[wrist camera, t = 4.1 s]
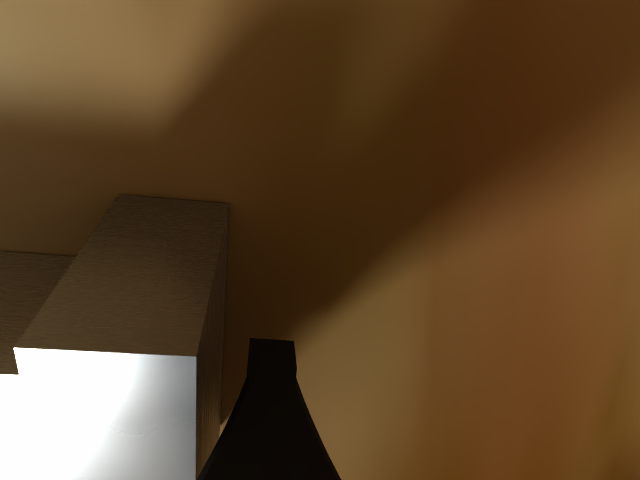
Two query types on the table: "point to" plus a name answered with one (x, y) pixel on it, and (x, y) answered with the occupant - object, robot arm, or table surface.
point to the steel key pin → (116, 347)
